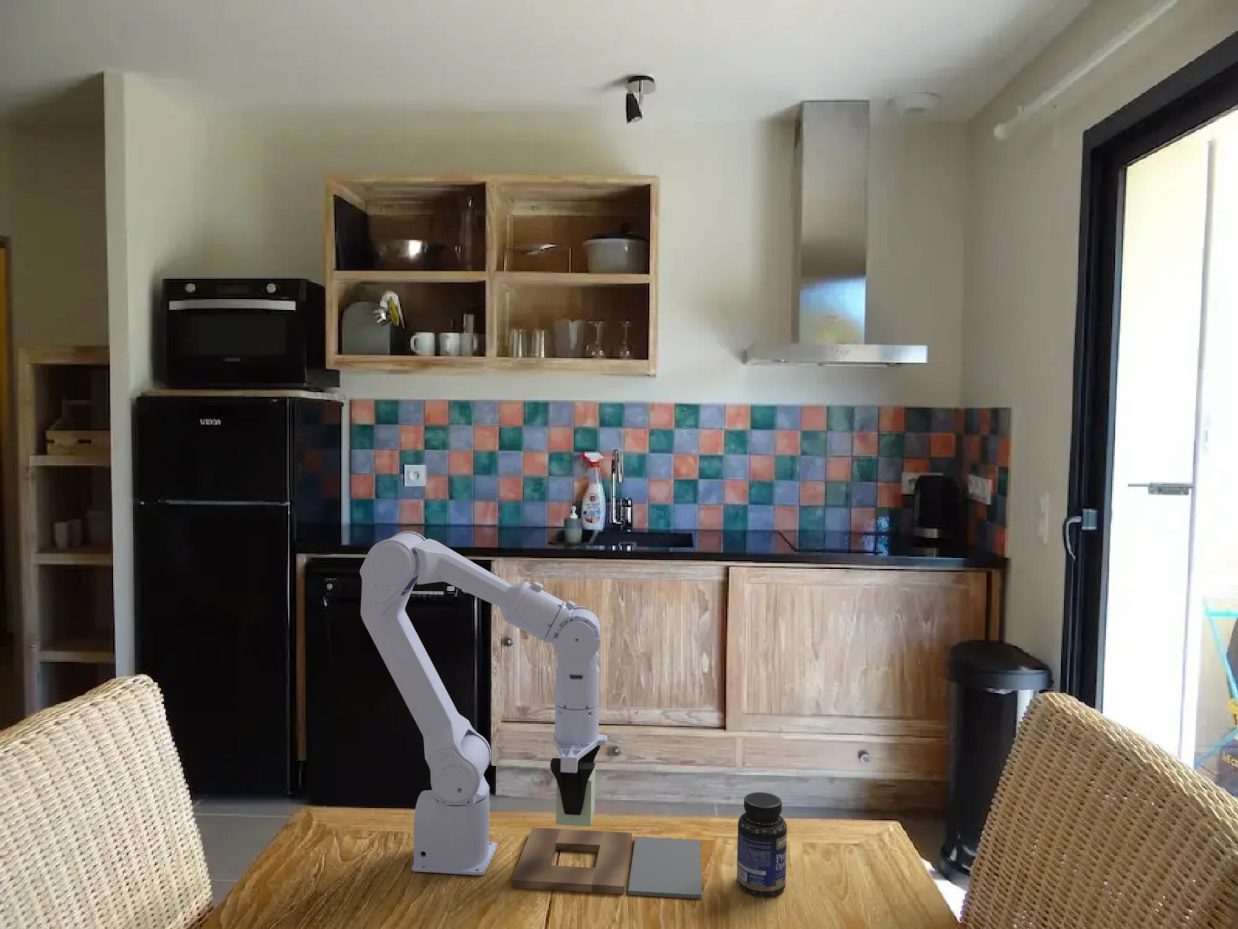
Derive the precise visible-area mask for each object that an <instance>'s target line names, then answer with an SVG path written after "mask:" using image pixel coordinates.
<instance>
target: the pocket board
mask: <svg viewBox="0 0 1238 929" xmlns="http://www.w3.org/2000/svg"><path fill="white" fill-rule="evenodd" d="M632 841H633V833H632V832H626V831H625V832H623V831H605V830H589V829H587V830H586V829H567V828H554V827H553V828H551V827H550V828H549V827H531V830H530V832H529V835H528V838H527V840H526V843H525V845H524V848H523V850H522V853H521V854H520V858H519V860H518V863H517V866H516V868H515V870H514V873H513V875H512V878H511V888H513V889H514V888H515V889H529V890H546V891H549V890H551V891H564V892H566V891H567V892H580V893H582V892H583V893H585V892H586V893H594V894H595V893H599V894H614V895H615V894H616V895H624V894H625V892H626V891H625V889H626V882H627V876H628V871H629V870H628V869H629V862H630V856H631V855H630V854H631V848H632V847H631V846H632ZM556 851H571V852H585V853H586V852H587V853H598V854H597V859H596V863H595V866H594V867H589V866H587V867H586V866H585V867H584V866H570V865H569V866H567V865H556V864H555V865H553V861H554V859H555V858H554V857H555V855H556V853H557V852H556Z"/></svg>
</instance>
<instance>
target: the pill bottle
mask: <svg viewBox="0 0 1238 929" xmlns="http://www.w3.org/2000/svg"><path fill="white" fill-rule="evenodd" d="M743 809H744V811H745V812H744V813H742V814H741V815H740V816H739V817H738V821H737V847H736V848H737V854H736V861H737V862H736V882H737V884H738V886H739V888H741V890H742V891H744V892H746V893H747V894H750V895H752V896H755V897H761V898H763V897H765V898H767V897H769V898H770V897H775V896H779V895H780V894H781V893H783V892H784V890H785V888H786V885H787V882H786V880H787V878H786V877H787V847H788V846H787V842H788V841H787V838H788V837H787V836H788V825H787V822H786V820H785V819H784V818H783V816H781V813H782V810H783V801H782V799H781V798H780V797H779V796H777V795H775V794H774V793H769V792H763V791H761V792H759V791H756V792H754V791H753V792H750V793H748V794H746V795H745V796H744V799H743Z"/></svg>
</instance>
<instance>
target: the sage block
mask: <svg viewBox="0 0 1238 929" xmlns="http://www.w3.org/2000/svg"><path fill="white" fill-rule="evenodd" d="M555 795H556V798H555V799H556V802H555V806H556V807H555V809H556V810H555V825H559V826H573V827H575V826H576V827H591V826H592V823H593V819H594V816H595V815H594V814H595V810H596V809H595V808H596V807H595V806H596V804H595V803H596V802H595V801H596V800H595V799H596V766H595V767H594V769H593V771H592V773H591V775H590V777H589V780H588V782H587V786H586V792H585V798H584V804H583V808H582V812H581V815H566V814H565V813H564V809H563V805H562V800H561V794H560V790H559V786H558V783H557V782H556V794H555Z"/></svg>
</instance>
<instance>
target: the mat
mask: <svg viewBox="0 0 1238 929" xmlns="http://www.w3.org/2000/svg"><path fill="white" fill-rule="evenodd" d="M701 846H702V845H701V839H692V838H691V839H688V838H687V839H686V838H673V837H672V838H671V837H670V838H669V837H651V836H650V837H649V836H635V839H634V844H633V852H632V859H631V867H630V874H629V875H630V876H629V880H628V886H627V887H628V888H627V895H629V896H647V897H660V898H662V897H664V898H665V897H666V898H682V899H695V900H696V899H697V900H698V899H699V900H700V899H701V900H702V898H703V897H702V896H703V895H702V894H703V893H702V855H701V854H702V851H701V850H702V849H701V848H702V847H701Z"/></svg>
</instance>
